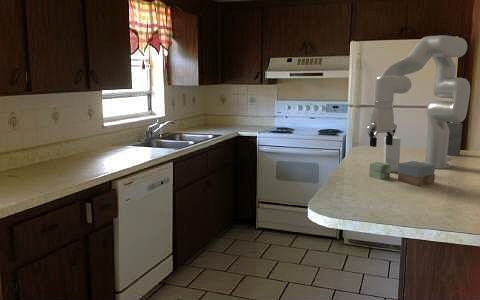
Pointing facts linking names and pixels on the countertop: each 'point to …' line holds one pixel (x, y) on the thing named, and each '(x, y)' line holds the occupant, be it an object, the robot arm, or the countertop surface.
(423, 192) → the countertop surface
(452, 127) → the dark grey upright block
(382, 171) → the sage block
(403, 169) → the slab top
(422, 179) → the slab bottom
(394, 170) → the skincare box
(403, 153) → the countertop surface
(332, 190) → the countertop surface
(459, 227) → the countertop surface
